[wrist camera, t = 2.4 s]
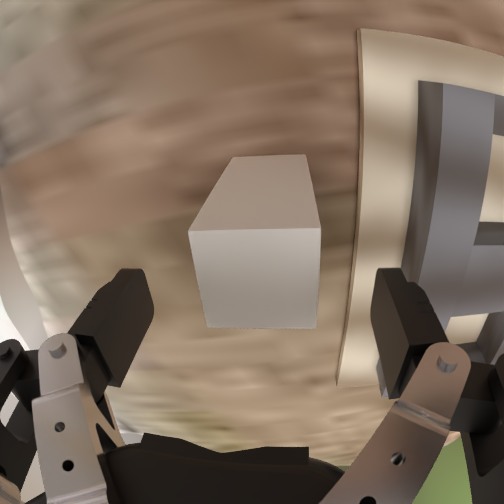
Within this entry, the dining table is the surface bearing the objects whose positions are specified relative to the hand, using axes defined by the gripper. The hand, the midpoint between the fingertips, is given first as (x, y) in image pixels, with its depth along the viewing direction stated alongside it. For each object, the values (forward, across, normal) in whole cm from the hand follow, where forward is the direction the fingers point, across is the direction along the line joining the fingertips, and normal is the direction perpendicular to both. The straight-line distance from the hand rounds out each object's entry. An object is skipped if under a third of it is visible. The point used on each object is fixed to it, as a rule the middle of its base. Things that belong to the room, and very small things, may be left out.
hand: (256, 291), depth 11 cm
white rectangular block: (+9, 0, 0) cm, 9 cm away
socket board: (+9, -14, +4) cm, 17 cm away
